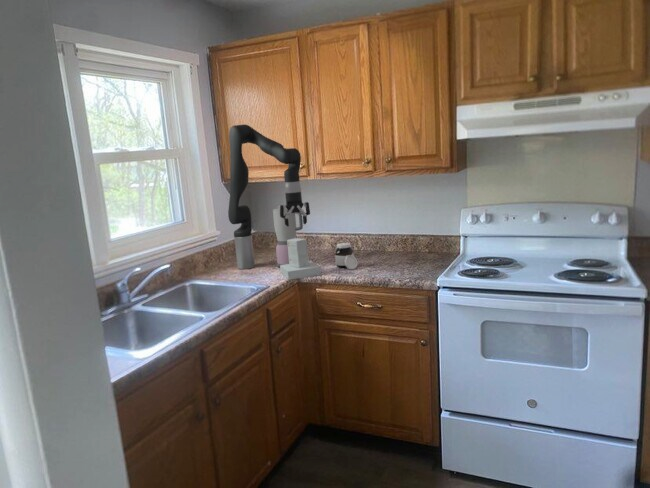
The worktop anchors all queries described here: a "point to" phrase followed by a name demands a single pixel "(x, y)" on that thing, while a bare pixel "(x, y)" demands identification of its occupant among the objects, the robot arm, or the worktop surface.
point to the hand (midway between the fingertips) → (296, 225)
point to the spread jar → (345, 256)
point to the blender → (285, 233)
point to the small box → (298, 252)
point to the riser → (300, 271)
